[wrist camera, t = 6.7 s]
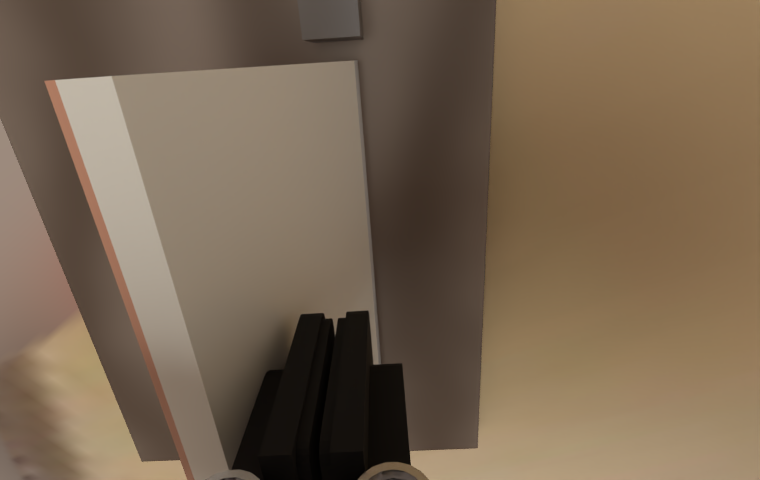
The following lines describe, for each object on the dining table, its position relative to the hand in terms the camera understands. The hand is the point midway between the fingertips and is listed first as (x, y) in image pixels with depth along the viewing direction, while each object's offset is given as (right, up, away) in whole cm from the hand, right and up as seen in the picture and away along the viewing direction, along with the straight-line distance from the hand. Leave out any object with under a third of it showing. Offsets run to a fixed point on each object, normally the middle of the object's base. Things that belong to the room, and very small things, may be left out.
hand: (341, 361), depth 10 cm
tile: (-1, 0, +2) cm, 2 cm away
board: (-3, +3, +7) cm, 8 cm away
